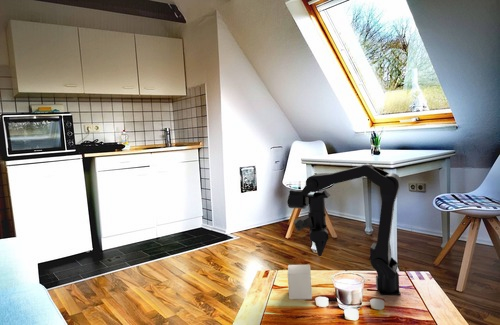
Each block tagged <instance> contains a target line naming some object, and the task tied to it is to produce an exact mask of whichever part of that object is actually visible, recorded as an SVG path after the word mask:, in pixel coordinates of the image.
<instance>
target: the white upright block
mask: <svg viewBox="0 0 500 325" xmlns="http://www.w3.org/2000/svg"><path fill="white" fill-rule="evenodd" d="M311 276H312V274H311V264H288V266H287V286H288V300H312V299H313V294H312V293H313V292H312V289H313V288H312V277H311Z"/></svg>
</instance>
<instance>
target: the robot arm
mask: <svg viewBox="0 0 500 325" xmlns="http://www.w3.org/2000/svg"><path fill="white" fill-rule="evenodd" d="M360 178H366V179H368V180H369V181H370V182H372V183H373V184H374V185H375V186H376V185H377V187H379V191H380V192H379V193H380V198H381V199H380V200H381V206H380V207H381V209H380V215H379V216H380V217H379V222H378V223H379V224H378V231H377V240H376V243H375V242H373V243H372V245H371V247H370V248H369V250H370V251H369V254H370V256H369V258H368V260H369V261H370V265H371V267H372V268H373V270H374V269H375V270H374V271H375V272H376V274H377V275H375V287H376V290H377V291H378V292H379V295H381V296H383V295H384V296H386V295H387V296H389V295H390V296H393V295H395V296H398V295H399V296H400V295H401V294H402V292H401V291H400V275H399V273H398V271H397V270H398V267H399V263H398V262H397V261H396V260H395V258H394V257H392V247H391V241H390V240H391V235H392V234H391V233H392V228H393V227H392V226H393V218H394V213H395V212H394V211H395V203H396V200H397V197H398V195H399V191H400V188H401V186H402V179H401V177H400V176H399V175H398V174H396V173H394V172H390V173H389V172H387V171H385V170H383V169H381V168H378V167H376V166H374V165H373V164H372V163H364V164H362V165H359V166H356V167H355V166H354V167H352V168H346V169H342V170H339V171H336V172H325V173H323V172H322V173H315V174H313V175H311V176H309V177H307V178H306V180H305V185H304V187H303V189H300V190H299V189H298V190H296V189H291V190H290V189H289V190H288V192H289V194H288V197H287V201H286V202H287V206H288V208H289V209H299V210H300V209H303V210H304V209H306V207H308V212H307V213H308V215H305V216H302V217H299V218H297V219H294V220H293V221H294V222H293V224H294V228H295V229H296V231H297V232H300V231H301V230H303V229H307V228H308V229H309V230H310V231H309V240H310V242H313V243H314V246H315V249H316V252H317V256H318V257H322V255H323V252H324V250H325V248H326V245H327V243H328V241H329V230H327V221H326V220H327V219H326V216H327V214H326V213H327V212H326V201H325V199H328V198H330V197H331V194H330V193H329V192H327V190H326V188H327V187H330V186H333V185H335V184H340V183H344V182H348V181H351V180H356V179H360ZM323 189H324V190H323ZM321 190H323V191H322V192H320V191H321ZM310 193H312V194H310Z"/></svg>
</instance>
